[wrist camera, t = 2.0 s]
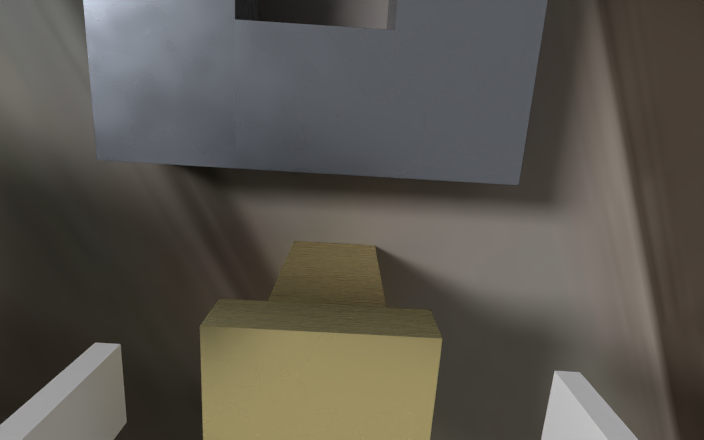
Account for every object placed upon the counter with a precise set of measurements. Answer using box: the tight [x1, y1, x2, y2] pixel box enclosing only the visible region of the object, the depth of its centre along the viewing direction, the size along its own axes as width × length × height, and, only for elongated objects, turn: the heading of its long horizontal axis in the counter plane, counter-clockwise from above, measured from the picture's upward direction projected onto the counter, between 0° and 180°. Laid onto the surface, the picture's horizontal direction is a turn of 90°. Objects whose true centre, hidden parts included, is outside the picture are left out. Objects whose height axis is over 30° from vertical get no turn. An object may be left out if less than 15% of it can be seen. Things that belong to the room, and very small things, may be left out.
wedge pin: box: [200, 241, 443, 440], centre depth 16 cm, size 6×6×11 cm
